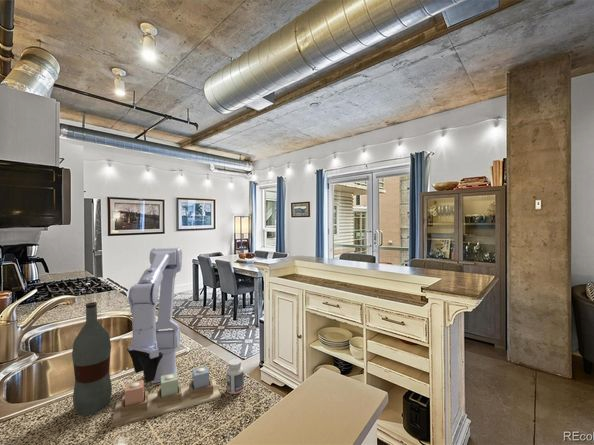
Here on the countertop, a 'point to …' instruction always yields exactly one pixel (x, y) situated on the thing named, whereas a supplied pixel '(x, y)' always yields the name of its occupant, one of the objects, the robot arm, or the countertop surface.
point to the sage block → (169, 385)
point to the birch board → (164, 402)
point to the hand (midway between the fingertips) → (144, 376)
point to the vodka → (91, 366)
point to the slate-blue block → (200, 377)
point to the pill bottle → (235, 377)
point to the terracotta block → (134, 393)
